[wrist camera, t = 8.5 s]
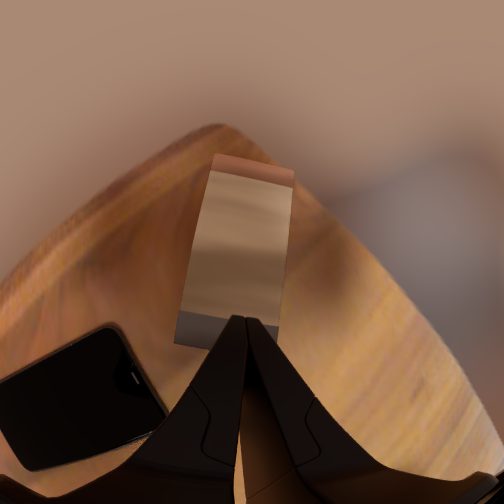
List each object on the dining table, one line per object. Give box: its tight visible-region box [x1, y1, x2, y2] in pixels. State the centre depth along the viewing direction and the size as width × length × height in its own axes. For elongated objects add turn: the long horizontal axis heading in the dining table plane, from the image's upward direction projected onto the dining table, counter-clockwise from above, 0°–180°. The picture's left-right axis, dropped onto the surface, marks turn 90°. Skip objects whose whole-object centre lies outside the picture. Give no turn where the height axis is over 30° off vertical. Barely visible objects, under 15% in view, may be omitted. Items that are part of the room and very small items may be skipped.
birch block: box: [174, 153, 294, 350], centre depth 15 cm, size 4×4×10 cm
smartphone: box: [0, 326, 169, 472], centre depth 12 cm, size 7×1×15 cm
